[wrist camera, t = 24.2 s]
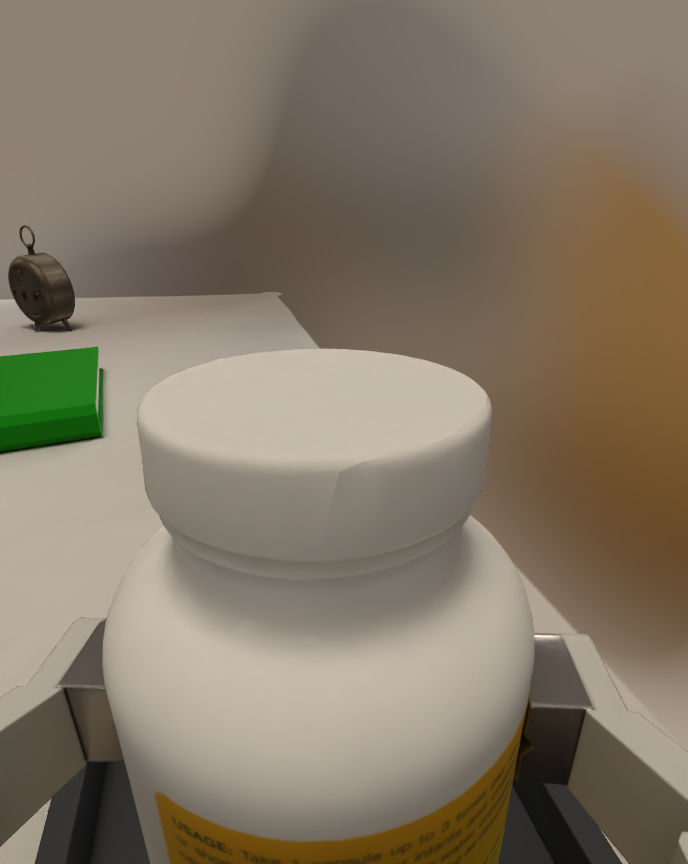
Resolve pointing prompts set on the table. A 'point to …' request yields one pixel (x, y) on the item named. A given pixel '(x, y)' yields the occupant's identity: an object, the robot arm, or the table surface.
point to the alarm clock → (41, 287)
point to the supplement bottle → (318, 618)
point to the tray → (128, 860)
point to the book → (50, 398)
